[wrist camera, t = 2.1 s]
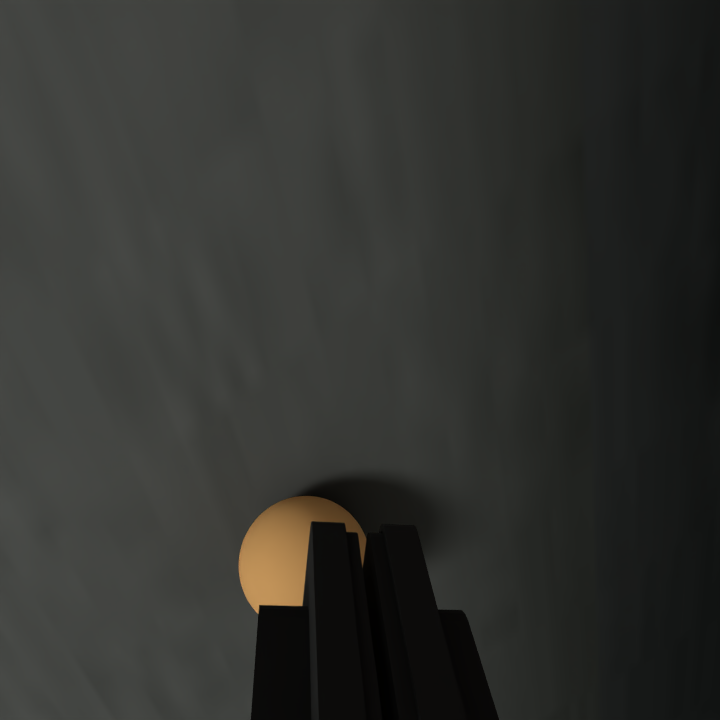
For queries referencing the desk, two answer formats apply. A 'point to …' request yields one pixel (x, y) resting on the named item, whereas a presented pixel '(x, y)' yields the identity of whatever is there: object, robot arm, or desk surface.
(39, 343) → the desk surface
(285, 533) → the ball
